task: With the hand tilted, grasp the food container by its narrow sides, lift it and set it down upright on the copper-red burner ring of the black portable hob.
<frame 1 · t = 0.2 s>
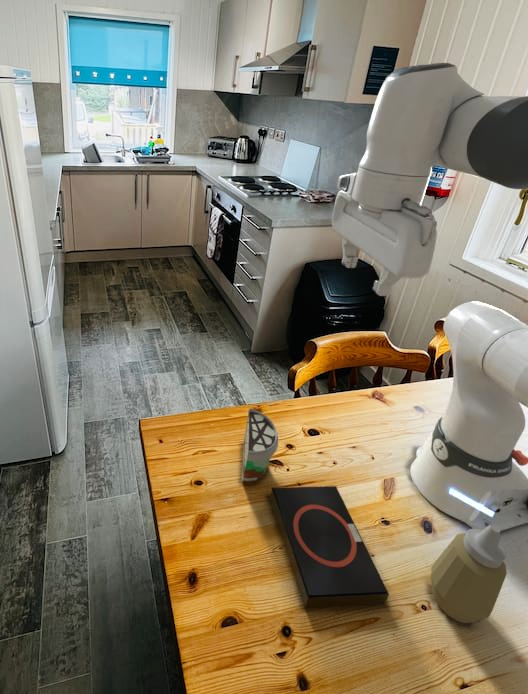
hand: (363, 278, 61), 48 cm above the table, tool pointing down, fingers open, 8 cm apart
hob: (320, 545, 70), on the table
squeeze bottle: (452, 601, 63), on the table
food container: (257, 466, 84), on the table
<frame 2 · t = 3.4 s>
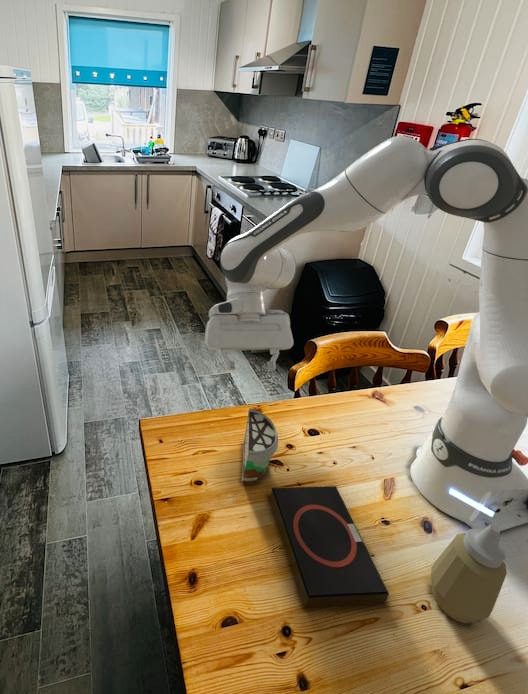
hand: (251, 369, 89), 16 cm above the table, tool tilted 45°, fingers open, 8 cm apart
nothing on the table moved.
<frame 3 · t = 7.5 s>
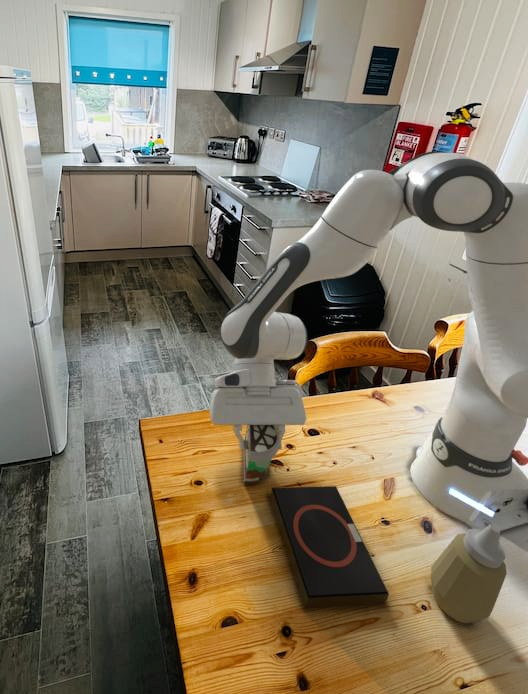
hand: (260, 449, 81), 6 cm above the table, tool tilted 45°, fingers closed on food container, 5 cm apart
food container: (258, 466, 84), on the table, touching gripper
everything else where it was.
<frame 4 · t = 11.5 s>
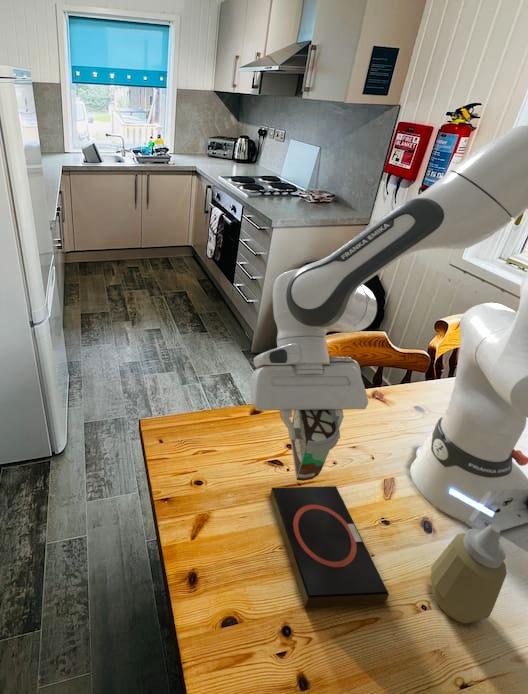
hand: (314, 439, 67), 19 cm above the table, tool tilted 45°, fingers closed on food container, 5 cm apart
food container: (310, 460, 70), point 13 cm above the table, touching gripper
everything else where it was.
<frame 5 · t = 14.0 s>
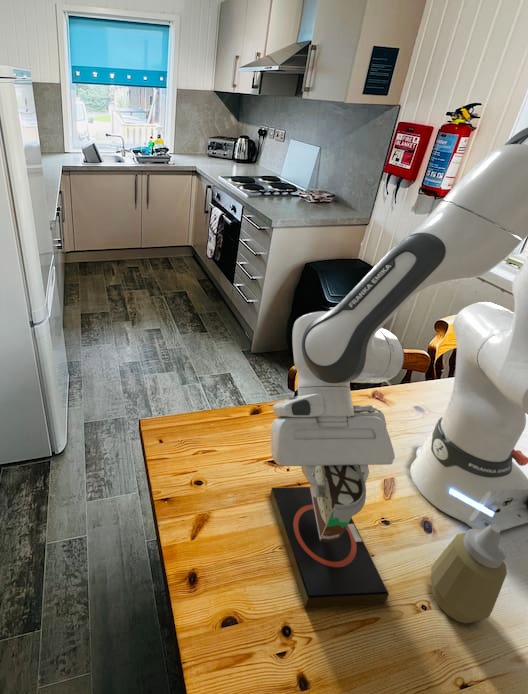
hand: (338, 496, 64), 13 cm above the table, tool tilted 45°, fingers closed on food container, 5 cm apart
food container: (333, 516, 67), point 8 cm above the table, touching gripper
everything else where it was.
when the fingers open (9 cm above the table, at t = 15.8 s): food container stays where it is, resting on hob.
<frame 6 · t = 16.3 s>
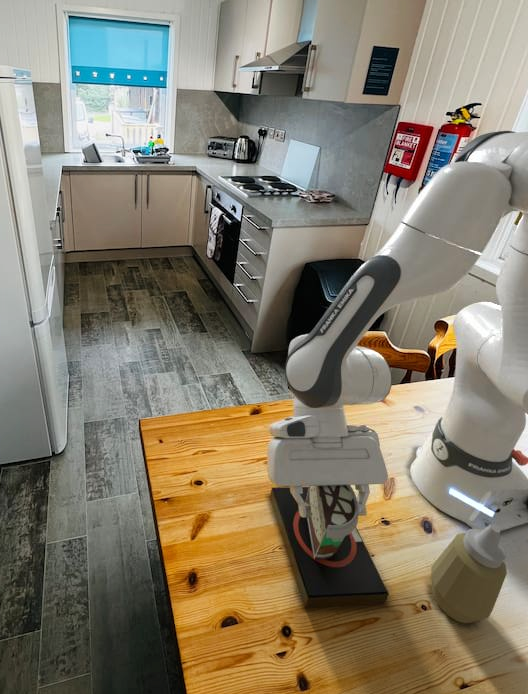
hand: (333, 515, 66), 9 cm above the table, tool tilted 45°, fingers open, 8 cm apart
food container: (327, 534, 69), point 3 cm above the table, touching hob
everything else where it was.
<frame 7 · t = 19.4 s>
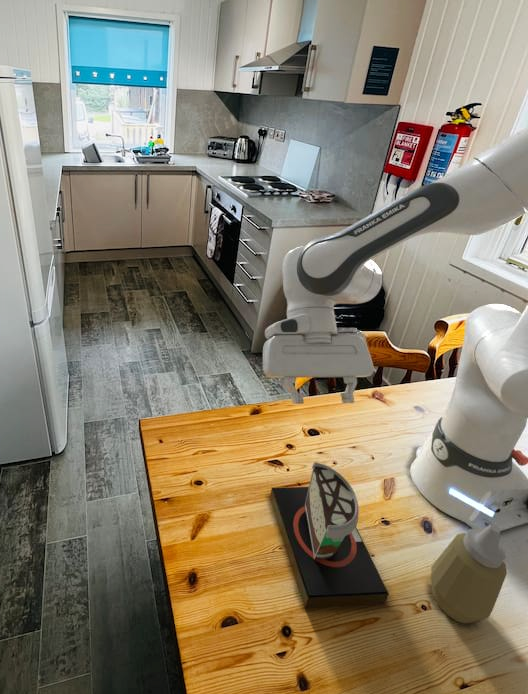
hand: (323, 403, 71), 22 cm above the table, tool tilted 45°, fingers open, 8 cm apart
nothing on the table moved.
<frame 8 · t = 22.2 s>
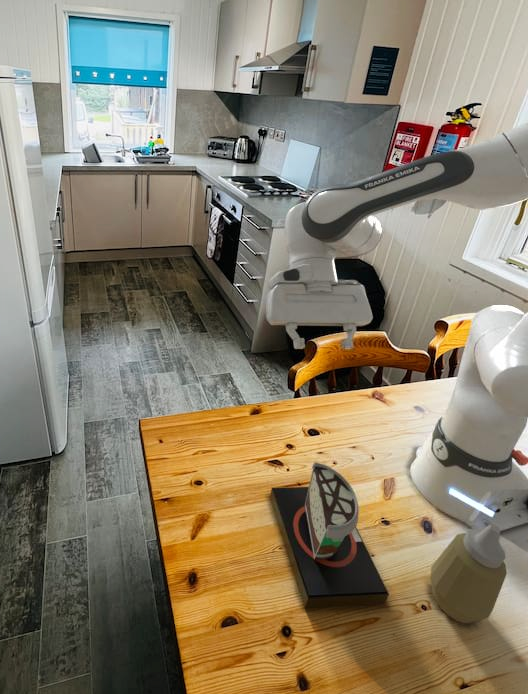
hand: (323, 348, 74), 29 cm above the table, tool tilted 45°, fingers open, 8 cm apart
nothing on the table moved.
at the end: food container 0.5 cm off-centre on the hob, point 3.0 cm above the hob's base; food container tilted 0°; the gripper is holding nothing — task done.
